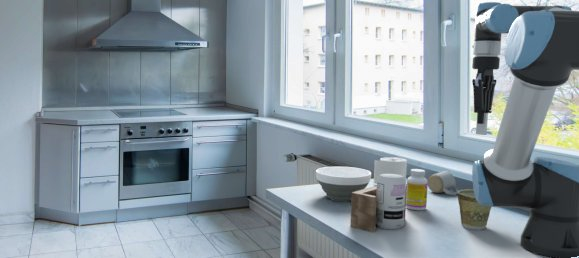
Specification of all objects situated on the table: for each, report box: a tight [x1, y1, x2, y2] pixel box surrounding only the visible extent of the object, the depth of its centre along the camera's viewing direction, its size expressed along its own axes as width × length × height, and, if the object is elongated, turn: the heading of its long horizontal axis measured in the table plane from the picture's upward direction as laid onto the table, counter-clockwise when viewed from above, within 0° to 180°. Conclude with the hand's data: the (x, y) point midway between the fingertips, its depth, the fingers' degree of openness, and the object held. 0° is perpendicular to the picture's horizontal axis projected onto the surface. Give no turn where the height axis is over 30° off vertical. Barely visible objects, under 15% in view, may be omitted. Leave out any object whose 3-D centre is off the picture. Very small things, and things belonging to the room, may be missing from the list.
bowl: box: [315, 166, 372, 202], centre depth 176 cm, size 20×20×10 cm
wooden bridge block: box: [349, 185, 407, 233], centre depth 147 cm, size 8×18×10 cm, turn 137°
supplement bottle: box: [406, 168, 428, 211], centre depth 164 cm, size 7×7×13 cm
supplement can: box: [376, 173, 407, 230], centre depth 144 cm, size 8×8×15 cm
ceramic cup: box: [457, 188, 493, 231], centre depth 146 cm, size 13×10×10 cm
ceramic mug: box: [427, 170, 459, 196], centre depth 187 cm, size 11×8×8 cm
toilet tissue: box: [373, 156, 408, 185], centre depth 200 cm, size 11×12×10 cm
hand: (481, 134), depth 151 cm, fingers closed
